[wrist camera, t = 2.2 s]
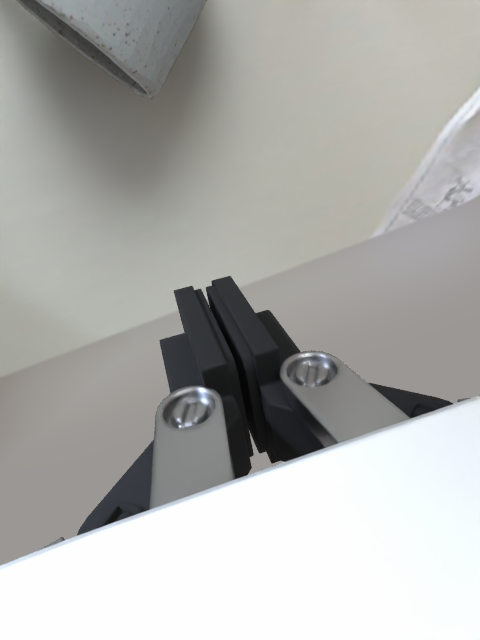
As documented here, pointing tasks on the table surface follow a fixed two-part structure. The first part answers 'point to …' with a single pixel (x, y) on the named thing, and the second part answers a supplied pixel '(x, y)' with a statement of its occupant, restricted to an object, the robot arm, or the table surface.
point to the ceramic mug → (123, 34)
